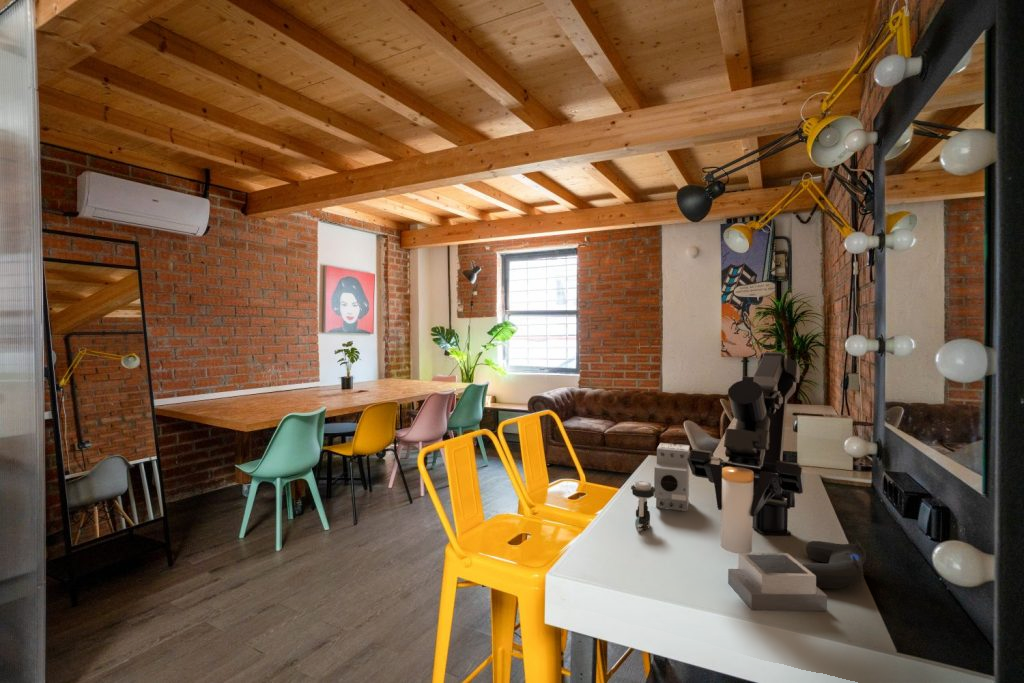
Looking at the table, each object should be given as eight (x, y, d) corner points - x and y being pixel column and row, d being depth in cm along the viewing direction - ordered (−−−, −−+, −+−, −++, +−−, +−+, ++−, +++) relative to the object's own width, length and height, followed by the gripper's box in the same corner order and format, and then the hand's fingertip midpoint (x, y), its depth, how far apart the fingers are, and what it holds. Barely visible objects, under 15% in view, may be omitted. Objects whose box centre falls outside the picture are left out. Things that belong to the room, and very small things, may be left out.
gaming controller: (808, 604, 89) (868, 589, 84) (789, 571, 91) (847, 554, 86) (819, 569, 102) (872, 555, 97) (803, 541, 104) (854, 525, 99)
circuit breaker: (653, 515, 125) (653, 453, 125) (659, 498, 139) (660, 442, 138) (685, 519, 122) (686, 456, 122) (688, 501, 136) (689, 445, 136)
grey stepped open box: (796, 583, 91) (796, 552, 91) (826, 611, 82) (827, 576, 82) (728, 582, 91) (728, 551, 91) (751, 609, 82) (751, 575, 82)
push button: (650, 535, 112) (651, 489, 112) (626, 530, 115) (627, 486, 115) (656, 525, 118) (657, 482, 118) (633, 521, 121) (634, 479, 121)
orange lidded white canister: (738, 540, 92) (740, 465, 92) (758, 552, 88) (760, 473, 87) (714, 543, 91) (716, 467, 91) (733, 555, 86) (735, 475, 86)
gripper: (691, 406, 98) (670, 477, 89) (803, 416, 87) (792, 498, 78) (702, 441, 104) (684, 510, 95) (807, 454, 93) (798, 533, 85)
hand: (735, 512), depth 88 cm, fingers closed on orange lidded white canister, 5 cm apart
